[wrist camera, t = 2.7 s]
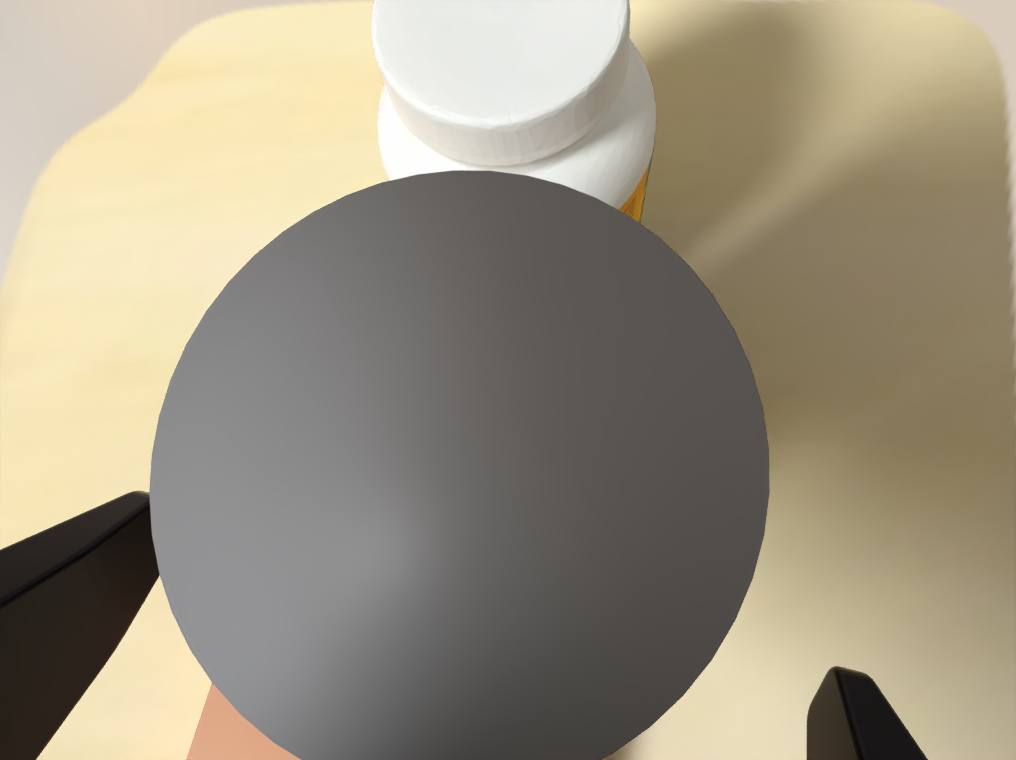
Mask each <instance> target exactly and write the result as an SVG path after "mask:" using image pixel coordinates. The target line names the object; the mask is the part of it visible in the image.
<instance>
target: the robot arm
mask: <svg viewBox="0 0 1016 760" xmlns="http://www.w3.org/2000/svg"><path fill="white" fill-rule="evenodd" d="M159 575H160V574H159V569H158V564H157V558H156V553H155V548H154V543H153V537H152V528H151V512H150V495H149V493H148V492H144V491H133V492H130V493H127V494H125V495H123V496H121V497H118V498H116V499H114V500H112V501H109V502H107V503H105V504H103V505H100V506H98V507H96V508H94V509H91V510H89V511H87V512H85V513H82V514H80V515H78V516H76V517H73V518H71V519H69V520H67V521H64V522H62V523H60V524H58V525H55V526H53V527H51V528H49V529H46V530H44V531H42V532H39V533H37V534H35V535H33V536H30V537H28V538H26V539H24V540H21V541H19V542H17V543H15V544H12V545H10V546H8V547H6V548H3V549H1V550H0V760H36V759H37V758H38V756H39V755H40V753H41V752H42V751H43V749H44V748H45V747H46V745H47V744H48V742H49V741H50V740H51V738H52V737H53V736H54V734H55V733H56V731H57V730H58V729H59V727H60V726H61V725H62V723H63V722H64V720H65V719H66V718H67V716H68V715H69V713H70V712H71V711H72V709H73V708H74V707H75V705H76V704H77V702H78V701H79V700H80V698H81V697H82V696H83V694H84V693H85V691H86V690H87V689H88V687H89V686H90V685H91V683H92V682H93V680H94V679H95V678H96V676H97V675H98V674H99V672H100V671H101V669H102V668H103V667H104V665H105V664H106V662H107V661H108V659H109V658H110V657H111V655H112V654H113V652H114V651H115V649H116V648H117V646H118V645H119V643H120V641H121V640H122V638H123V637H124V635H125V633H126V632H127V630H128V628H129V627H130V625H131V623H132V621H133V620H134V618H135V616H136V615H137V613H138V611H139V609H140V608H141V606H142V604H143V603H144V601H145V599H146V598H147V596H148V594H149V592H150V591H151V589H152V587H153V586H154V584H155V582H156V581H157V579H158V577H159ZM807 760H928V759H927V758H926V756H925V755H924V753H923V752H922V751H921V749H920V748H919V746H918V745H917V743H916V742H915V740H914V739H913V737H912V736H911V734H910V733H909V732H908V730H907V729H906V727H905V726H904V724H903V723H902V721H901V720H900V718H899V717H898V716H897V714H896V713H895V711H894V710H893V708H892V707H891V705H890V704H889V702H888V701H887V699H886V698H885V697H884V695H883V694H882V692H881V691H880V689H879V688H878V686H877V685H876V683H875V682H874V681H873V679H872V678H871V677H869V676H868V675H867V674H865V673H862V672H859V671H855V670H851V669H847V668H843V667H839V666H834V667H832V668H831V669H829V671H828V672H827V674H826V676H825V678H824V679H823V681H822V683H821V685H820V687H819V689H818V691H817V693H816V695H815V696H814V698H813V700H812V702H811V704H810V707H809V710H808V716H807Z"/></svg>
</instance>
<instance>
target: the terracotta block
mask: <svg viewBox="0 0 1016 760" xmlns="http://www.w3.org/2000/svg"><path fill="white" fill-rule="evenodd" d="M186 760H301V759H299V758H298V757H296V756H294V755H293V754H291V753H290V752H288V751H286V750H285V749H283V748H282V747H280V746H278V745H277V744H275V743H274V742H272V741H271V740H270V739H269V738H268V737H266V736H265V735H264V734H263V733H262V732H260V731H259V730H258V729H257V728H256V727H255V726H253V725H252V724H251V723H250V722H249V721H248V720H246V719H245V718H244V717H243V716H242V715H240V713H239V712H238V711H237V710H236V709H235V708H234V707H233V706H232V704H231V703H230V702H229V701H228V700H227V699H226V698H225V696H224V695H223V694H222V693H221V692H220V691H219V690H218V689H217V687H216V686H215V685H214V684H213V683H212V685H211V688H210V691H209V694H208V697H207V700H206V703H205V705H204V708H203V711H202V714H201V717H200V720H199V723H198V726H197V729H196V732H195V735H194V738H193V741H192V744H191V747H190V750H189V753H188V756H187V759H186Z"/></svg>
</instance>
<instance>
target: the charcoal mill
mask: <svg viewBox="0 0 1016 760" xmlns="http://www.w3.org/2000/svg"><path fill="white" fill-rule="evenodd" d="M149 495H150V512H151V528H152V537H153V543H154V548H155V553H156V558H157V564H158V569H159V574H160V577H161V580H162V583H163V586H164V589H165V592H166V595H167V598H168V601H169V604H170V607H171V610H172V613H173V615H174V617H175V619H176V621H177V623H178V625H179V627H180V629H181V632H182V634H183V636H184V638H185V640H186V642H187V644H188V646H189V648H190V650H191V651H192V653H193V654H194V656H195V657H196V659H197V660H198V662H199V663H200V665H201V666H202V668H203V669H204V671H205V672H206V674H207V675H208V677H209V678H210V680H211V681H212V683H213V684H214V685H215V686H216V687H217V689H218V690H219V691H220V692H221V693H222V694H223V695H224V696H225V698H226V699H227V700H228V701H229V702H230V703H231V704H232V706H233V707H234V708H235V709H236V710H237V711H238V712H239V713H240V715H242V716H243V717H244V718H245V719H246V720H248V721H249V722H250V723H251V724H252V725H253V726H255V727H256V728H257V729H258V730H259V731H260V732H262V733H263V734H264V735H265V736H266V737H268V738H269V739H270V740H271V741H272V742H274V743H275V744H277V745H278V746H280V747H282V748H283V749H285V750H286V751H288V752H290V753H291V754H293V755H294V756H296V757H298V758H299V759H301V760H601V759H603V758H605V757H607V756H609V755H611V754H612V753H614V752H615V751H617V750H618V749H619V748H621V747H622V746H624V745H625V744H627V743H628V742H629V741H631V740H632V739H634V738H635V737H637V736H638V735H639V734H641V733H642V732H644V731H645V730H646V729H648V728H649V727H650V726H651V725H653V724H654V723H655V722H656V721H657V720H658V719H659V718H660V717H661V716H662V715H663V714H664V713H665V712H666V711H667V710H668V709H669V708H671V707H672V706H673V705H674V704H675V703H676V702H677V701H678V700H679V699H680V698H681V697H682V696H683V695H684V694H685V693H686V691H687V690H688V689H689V688H690V686H691V685H692V684H693V683H694V681H695V680H696V679H697V678H698V676H699V675H700V674H701V673H702V671H703V670H704V669H705V668H706V666H707V665H708V664H709V663H710V661H711V660H712V659H713V657H714V655H715V653H716V652H717V650H718V648H719V647H720V645H721V643H722V642H723V640H724V638H725V637H726V635H727V633H728V631H729V630H730V628H731V626H732V625H733V623H734V621H735V619H736V617H737V615H738V612H739V610H740V607H741V605H742V603H743V600H744V598H745V595H746V593H747V591H748V588H749V586H750V583H751V581H752V579H753V575H754V571H755V567H756V564H757V560H758V556H759V552H760V549H761V545H762V541H763V537H764V531H765V523H766V515H767V506H768V498H769V447H768V441H767V434H766V427H765V421H764V414H763V408H762V404H761V400H760V397H759V393H758V390H757V387H756V383H755V380H754V376H753V373H752V369H751V366H750V364H749V362H748V359H747V357H746V355H745V353H744V350H743V348H742V346H741V344H740V341H739V339H738V337H737V335H736V332H735V330H734V328H733V327H732V325H731V324H730V322H729V320H728V319H727V317H726V315H725V314H724V312H723V310H722V309H721V307H720V306H719V304H718V302H717V301H716V299H715V297H714V296H713V295H712V293H711V292H710V291H709V290H708V288H707V287H706V286H705V285H704V283H703V282H702V281H701V280H700V279H699V277H698V276H697V275H696V274H695V272H694V271H693V270H692V269H691V267H690V266H689V265H688V264H687V263H686V262H685V261H684V260H683V259H682V258H681V257H680V256H678V255H677V254H676V253H675V252H674V251H673V250H672V249H671V248H670V247H669V246H668V245H667V244H666V243H665V242H664V241H663V240H662V239H660V238H659V237H658V236H656V235H655V234H654V233H652V232H651V231H649V230H648V229H647V228H645V227H644V226H643V225H641V224H640V223H638V222H637V221H636V220H634V219H633V218H632V217H630V216H629V215H627V214H625V213H623V212H621V211H619V210H618V209H616V208H614V207H612V206H610V205H608V204H607V203H605V202H603V201H601V200H599V199H597V198H595V197H593V196H590V195H588V194H585V193H583V192H580V191H577V190H575V189H572V188H570V187H567V186H565V185H562V184H558V183H554V182H551V181H547V180H543V179H539V178H535V177H531V176H527V175H520V174H512V173H504V172H497V171H472V170H452V171H443V172H434V173H426V174H417V175H413V176H408V177H404V178H400V179H395V180H391V181H387V182H383V183H379V184H377V185H374V186H371V187H368V188H366V189H363V190H360V191H357V192H355V193H352V194H349V195H346V196H344V197H342V198H340V199H338V200H336V201H334V202H332V203H330V204H328V205H326V206H324V207H322V208H320V209H318V210H316V211H314V212H313V213H311V214H310V215H308V216H307V217H305V218H303V219H302V220H300V221H299V222H297V223H296V224H294V225H293V226H291V227H290V228H288V229H287V230H285V231H283V232H282V233H281V234H280V235H279V236H277V237H276V238H275V239H274V240H272V241H271V242H270V243H269V244H268V245H266V246H265V247H264V248H263V249H262V250H260V251H259V252H258V253H257V254H256V255H254V256H253V257H252V258H251V260H250V261H249V262H248V263H247V264H246V265H245V266H244V267H243V268H242V269H241V270H240V271H239V272H238V273H237V274H236V275H235V276H234V277H233V278H232V279H231V280H230V281H229V282H228V284H227V285H226V286H225V288H224V289H223V290H222V292H221V293H220V294H219V295H218V297H217V298H216V299H215V301H214V302H213V303H212V305H211V306H210V307H209V309H208V310H207V311H206V313H205V314H204V316H203V318H202V319H201V321H200V323H199V324H198V326H197V328H196V329H195V331H194V333H193V334H192V336H191V338H190V339H189V341H188V343H187V344H186V347H185V349H184V351H183V353H182V356H181V358H180V360H179V362H178V364H177V367H176V369H175V371H174V373H173V376H172V378H171V380H170V383H169V387H168V390H167V393H166V396H165V399H164V403H163V406H162V409H161V412H160V415H159V420H158V425H157V430H156V436H155V441H154V446H153V452H152V462H151V477H150V493H149Z"/></svg>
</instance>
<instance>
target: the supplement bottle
mask: <svg viewBox="0 0 1016 760" xmlns="http://www.w3.org/2000/svg"><path fill="white" fill-rule="evenodd" d="M629 28H630V4H629V0H375V1H374V5H373V10H372V24H371V32H372V41H373V47H374V53H375V56H376V60H377V63H378V66H379V68H380V71H381V73H382V76H383V78H384V81H385V84H384V87H383V91H382V94H381V98H380V103H379V108H378V118H377V135H378V145H379V150H380V155H381V159H382V163H383V166H384V169H385V172H386V174H387V177H388V179H389V181H391V180H395V179H400V178H404V177H408V176H413V175H417V174H426V173H434V172H443V171H452V170H472V171H497V172H504V173H512V174H520V175H527V176H531V177H535V178H539V179H543V180H547V181H551V182H554V183H558V184H562V185H565V186H567V187H570V188H572V189H575V190H577V191H580V192H583V193H585V194H588V195H590V196H593V197H595V198H597V199H599V200H601V201H603V202H605V203H607V204H608V205H610V206H612V207H614V208H616V209H618V210H619V211H621V212H623V213H625V214H627V215H629V216H630V217H632V218H633V219H634V220H636V221H637V222H638V223H640V221H641V217H642V211H643V202H644V199H645V192H646V185H647V180H648V175H649V171H650V165H651V160H652V155H653V148H654V142H655V133H656V102H655V96H654V90H653V86H652V82H651V78H650V75H649V72H648V70H647V67H646V65H645V63H644V61H643V59H642V57H641V55H640V53H639V52H638V50H637V48H636V47H635V45H634V44H633V43H632V41H631V40H630V39H629Z"/></svg>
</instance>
